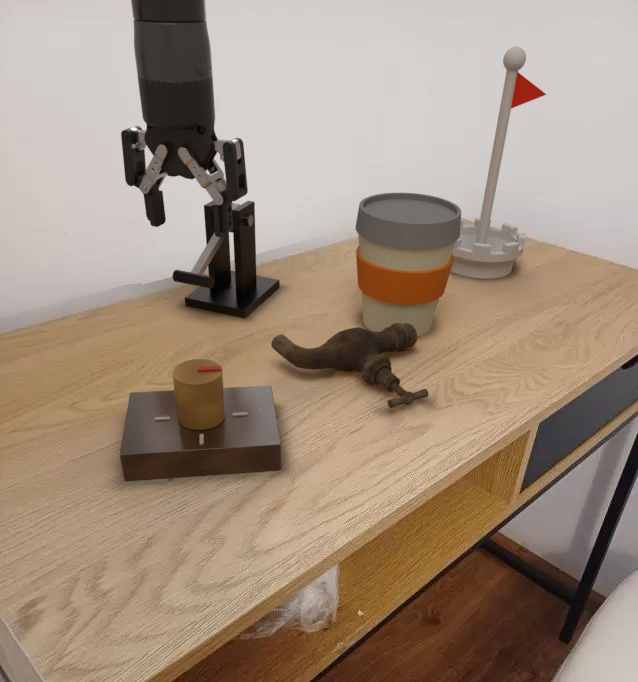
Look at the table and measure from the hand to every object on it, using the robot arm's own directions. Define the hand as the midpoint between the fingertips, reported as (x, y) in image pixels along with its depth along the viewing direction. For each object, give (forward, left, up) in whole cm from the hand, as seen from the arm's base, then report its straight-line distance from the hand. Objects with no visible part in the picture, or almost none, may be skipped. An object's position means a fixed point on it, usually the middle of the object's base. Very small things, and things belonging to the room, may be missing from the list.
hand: (189, 229), depth 75 cm
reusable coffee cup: (+23, +12, -13) cm, 29 cm away
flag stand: (+29, +37, -13) cm, 49 cm away
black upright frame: (0, +10, -12) cm, 16 cm away
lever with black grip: (0, +6, -5) cm, 7 cm away
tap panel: (+13, -21, -12) cm, 28 cm away
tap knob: (+13, -21, -9) cm, 26 cm away
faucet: (+24, -3, -13) cm, 27 cm away
